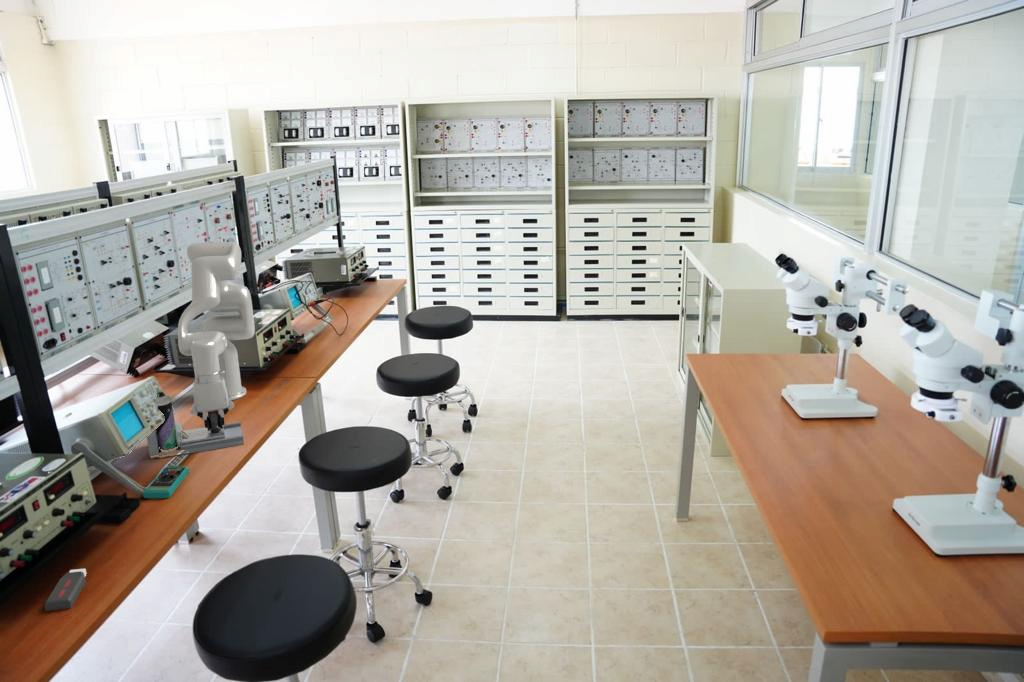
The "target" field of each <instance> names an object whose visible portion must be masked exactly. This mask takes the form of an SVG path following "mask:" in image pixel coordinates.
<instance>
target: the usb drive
mask: <svg viewBox="0 0 1024 682" xmlns="http://www.w3.org/2000/svg"><path fill="white" fill-rule="evenodd" d="M86 574H87V575H88V573H87V569H86V568H78V569H75V568H74V569H70V570H69V572H66V573H64V575H62V576H61V578H60V579H59V580H58V582H57V583H56V585H55V587H53V590H52V592H51V593H50V594H49V596H48V598H47V599H46V600H45V604H44V610H45V612H52V611H51V610H53V611H59V609H62V610H68V609H67V608H70V609H72V608H73V607H74V605H75V603H76V601H77V600H78V598H77V597H79V596H80V594H81V593H80V592H82V591H83V589H84V587H85V586H86V584H85V583H87V581H86V580H87V579H86V576H87V575H86ZM82 588H83V589H82ZM81 590H82V591H81ZM79 593H80V594H79ZM78 595H79V596H78ZM76 599H77V600H76ZM75 600H76V601H75ZM74 602H75V603H74ZM73 604H74V605H73ZM72 606H73V607H72ZM71 607H72V608H71Z"/></svg>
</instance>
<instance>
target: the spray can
mask: <svg viewBox="0 0 1024 682" xmlns="http://www.w3.org/2000/svg"><path fill="white" fill-rule="evenodd" d="M156 395H157V397H156V396H155V397H156V401H155V403H156V404H157V406H158V409H159V410H160V411H161V412H162V413H163V414H164V416H165V421H164V423H163V424H161V425H160V426H159V427H158V428H157V429H156V430H157V435H158V441H159V447H160V449H162V450H169V449H173V448H175V447H177V446H178V445H177V438H176V433H175V431H174V430H175V428H176V420H175V415H174V408H173V403H172V399H171V396H170V395H167V394H165V393H164V391H161V390H158V391H157V392H156Z"/></svg>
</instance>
